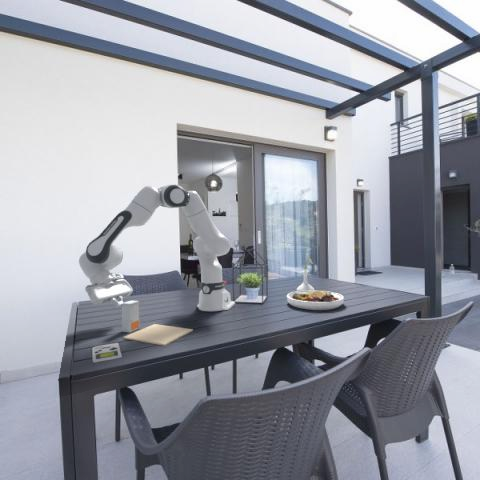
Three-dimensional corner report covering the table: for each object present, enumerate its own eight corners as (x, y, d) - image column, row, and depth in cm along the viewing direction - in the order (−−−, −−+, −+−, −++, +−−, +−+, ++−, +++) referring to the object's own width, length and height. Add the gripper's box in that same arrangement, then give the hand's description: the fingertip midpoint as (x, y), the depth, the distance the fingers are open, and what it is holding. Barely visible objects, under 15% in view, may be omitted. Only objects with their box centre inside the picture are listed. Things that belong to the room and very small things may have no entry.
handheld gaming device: (118, 342, 118) (122, 356, 104) (118, 344, 118) (122, 358, 104) (92, 346, 114) (92, 361, 100) (92, 348, 114) (92, 364, 100)
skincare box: (130, 332, 129) (129, 304, 129) (121, 331, 131) (121, 303, 130) (139, 328, 135) (139, 300, 134) (131, 327, 136) (130, 300, 136)
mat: (154, 325, 139) (154, 323, 139) (192, 330, 130) (192, 329, 130) (123, 338, 123) (123, 337, 123) (164, 345, 114) (164, 344, 114)
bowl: (277, 301, 181) (277, 287, 181) (323, 296, 190) (323, 284, 190) (304, 314, 152) (304, 298, 152) (355, 308, 162) (355, 293, 161)
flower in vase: (310, 294, 195) (310, 254, 194) (293, 293, 201) (293, 254, 200) (317, 291, 206) (317, 253, 205) (301, 289, 212) (301, 252, 211)
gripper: (86, 281, 128) (105, 307, 124) (124, 274, 147) (141, 296, 143) (79, 291, 130) (97, 317, 127) (118, 283, 149) (134, 305, 145)
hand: (121, 306), depth 135 cm, fingers closed
